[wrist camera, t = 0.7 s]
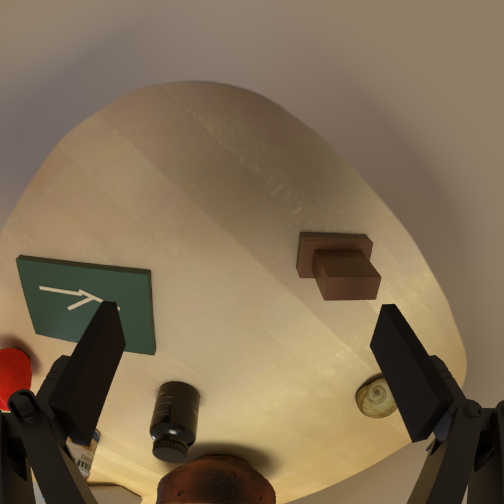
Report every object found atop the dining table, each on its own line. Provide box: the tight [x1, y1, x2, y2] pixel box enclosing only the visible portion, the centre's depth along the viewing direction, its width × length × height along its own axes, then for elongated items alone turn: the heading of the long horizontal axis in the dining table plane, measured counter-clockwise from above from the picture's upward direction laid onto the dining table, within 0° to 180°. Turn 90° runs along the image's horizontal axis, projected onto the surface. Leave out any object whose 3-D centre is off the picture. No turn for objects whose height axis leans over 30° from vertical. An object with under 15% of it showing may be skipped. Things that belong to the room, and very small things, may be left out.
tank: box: [88, 486, 142, 504], centre depth 63 cm, size 25×16×12 cm, turn 117°
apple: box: [0, 348, 32, 411], centre depth 38 cm, size 10×10×12 cm
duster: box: [296, 232, 381, 301], centre depth 33 cm, size 8×4×8 cm, turn 88°
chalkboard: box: [16, 255, 156, 355], centre depth 39 cm, size 13×20×1 cm, turn 84°
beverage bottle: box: [42, 429, 100, 499], centre depth 44 cm, size 8×8×20 cm
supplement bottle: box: [150, 382, 200, 463], centre depth 42 cm, size 7×7×12 cm
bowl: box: [156, 455, 276, 504], centre depth 51 cm, size 25×25×15 cm
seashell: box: [356, 378, 397, 418], centre depth 47 cm, size 10×7×8 cm
